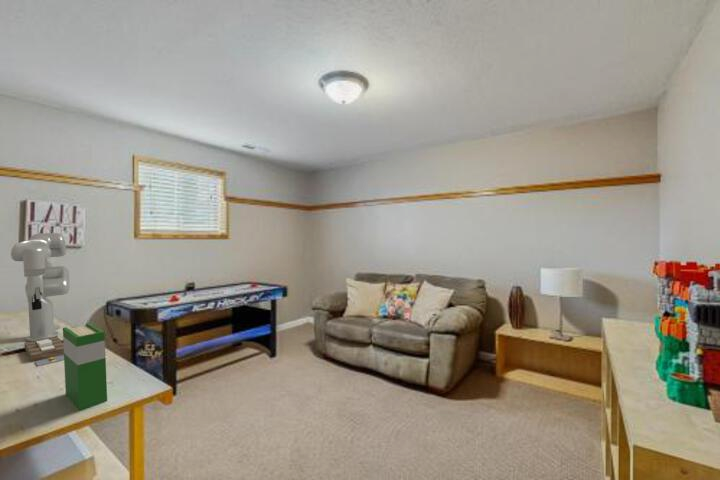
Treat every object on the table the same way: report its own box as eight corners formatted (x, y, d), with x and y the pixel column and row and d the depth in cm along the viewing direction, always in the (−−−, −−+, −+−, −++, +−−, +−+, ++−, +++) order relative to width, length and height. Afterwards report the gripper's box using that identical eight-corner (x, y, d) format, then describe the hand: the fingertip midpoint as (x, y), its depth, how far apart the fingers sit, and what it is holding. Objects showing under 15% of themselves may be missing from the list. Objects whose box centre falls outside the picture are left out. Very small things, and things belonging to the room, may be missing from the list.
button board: (24, 348, 163) (24, 342, 163) (57, 341, 172) (57, 336, 172) (31, 362, 147) (31, 355, 146) (67, 353, 156) (67, 347, 156)
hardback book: (65, 394, 118) (62, 327, 117) (91, 386, 124) (89, 322, 123) (79, 410, 107) (76, 337, 106) (107, 401, 113) (104, 331, 112)
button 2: (40, 352, 155) (40, 347, 155) (53, 349, 158) (53, 345, 158) (42, 354, 152) (41, 350, 152) (54, 351, 155) (54, 347, 155)
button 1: (36, 345, 164) (36, 341, 164) (48, 343, 167) (48, 338, 167) (37, 347, 161) (37, 343, 161) (49, 345, 164) (49, 340, 164)
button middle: (38, 346, 159) (38, 342, 159) (50, 344, 162) (50, 339, 162) (39, 348, 156) (39, 344, 156) (52, 346, 160) (52, 341, 160)
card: (35, 362, 146) (35, 360, 146) (65, 355, 154) (65, 354, 154) (37, 366, 142) (37, 365, 142) (68, 359, 150) (68, 357, 149)
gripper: (21, 271, 164) (23, 308, 165) (26, 275, 155) (28, 313, 156) (42, 269, 170) (44, 305, 171) (48, 273, 160) (50, 310, 162)
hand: (36, 309), depth 163 cm, fingers closed
